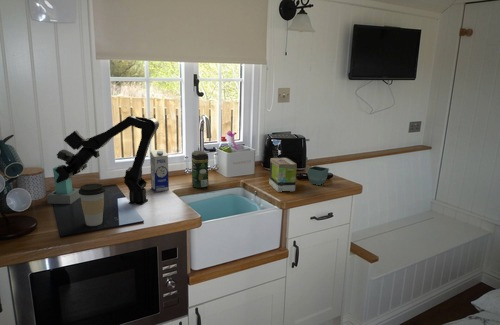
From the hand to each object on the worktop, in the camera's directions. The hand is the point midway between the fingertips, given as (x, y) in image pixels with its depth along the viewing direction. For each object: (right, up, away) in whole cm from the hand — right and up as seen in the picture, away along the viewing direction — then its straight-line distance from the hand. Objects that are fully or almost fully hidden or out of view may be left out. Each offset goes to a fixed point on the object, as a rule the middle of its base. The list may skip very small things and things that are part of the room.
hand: (60, 180), depth 168 cm
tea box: (+102, -5, +30) cm, 107 cm away
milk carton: (+40, -6, +21) cm, 45 cm away
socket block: (+1, -9, +2) cm, 9 cm away
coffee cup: (+25, -16, -22) cm, 37 cm away
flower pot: (+122, -4, +38) cm, 128 cm away
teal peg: (+1, -6, +2) cm, 7 cm away
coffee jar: (+59, -4, +29) cm, 66 cm away
